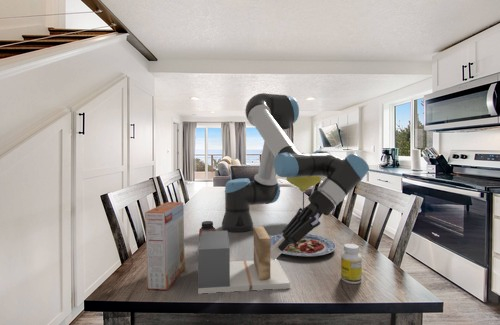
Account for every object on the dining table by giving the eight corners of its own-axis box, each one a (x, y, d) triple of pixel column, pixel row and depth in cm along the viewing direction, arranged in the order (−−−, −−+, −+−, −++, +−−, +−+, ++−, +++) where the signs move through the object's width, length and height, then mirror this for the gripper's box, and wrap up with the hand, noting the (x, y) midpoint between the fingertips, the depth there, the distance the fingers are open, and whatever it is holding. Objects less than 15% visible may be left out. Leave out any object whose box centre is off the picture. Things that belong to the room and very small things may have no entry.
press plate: (263, 261, 85) (263, 226, 85) (270, 278, 73) (270, 238, 73) (253, 261, 85) (253, 226, 84) (259, 279, 73) (259, 238, 72)
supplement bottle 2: (337, 276, 79) (338, 242, 79) (355, 275, 80) (356, 242, 79) (346, 285, 74) (346, 249, 73) (365, 284, 74) (365, 248, 74)
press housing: (277, 263, 88) (277, 228, 87) (290, 288, 72) (290, 245, 71) (201, 267, 85) (201, 231, 84) (198, 294, 69) (198, 249, 69)
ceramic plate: (292, 234, 121) (292, 227, 121) (348, 248, 103) (348, 240, 103) (252, 248, 103) (252, 240, 103) (310, 268, 85) (310, 259, 84)
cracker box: (166, 267, 85) (166, 201, 84) (185, 268, 84) (184, 201, 84) (145, 290, 71) (144, 211, 70) (167, 291, 70) (166, 211, 70)
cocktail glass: (320, 216, 153) (320, 172, 152) (321, 224, 135) (321, 175, 135) (287, 215, 157) (288, 172, 156) (284, 222, 139) (284, 174, 139)
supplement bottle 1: (218, 251, 99) (218, 220, 99) (211, 257, 93) (211, 224, 93) (204, 249, 101) (204, 219, 101) (196, 255, 95) (195, 223, 95)
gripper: (344, 211, 74) (285, 274, 73) (325, 202, 87) (274, 256, 86) (326, 192, 73) (265, 256, 72) (309, 186, 86) (258, 240, 85)
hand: (270, 256), depth 79 cm, fingers closed
